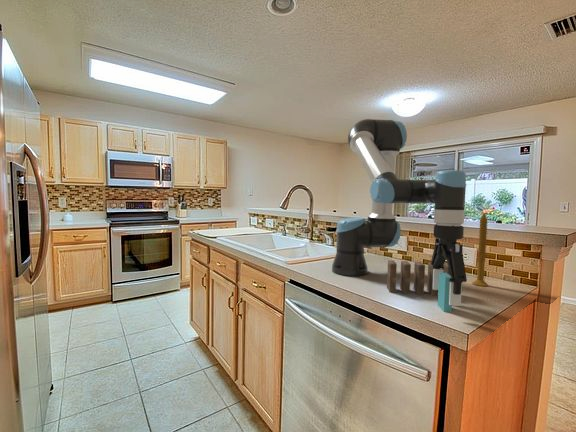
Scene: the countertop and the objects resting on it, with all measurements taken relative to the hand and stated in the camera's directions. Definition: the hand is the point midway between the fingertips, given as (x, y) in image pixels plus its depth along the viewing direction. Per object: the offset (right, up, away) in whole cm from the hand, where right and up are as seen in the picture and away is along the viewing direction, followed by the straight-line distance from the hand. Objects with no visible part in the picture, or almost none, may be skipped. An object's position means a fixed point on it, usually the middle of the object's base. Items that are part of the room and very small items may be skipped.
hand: (445, 296), depth 83 cm
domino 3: (-1, -3, +15) cm, 15 cm away
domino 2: (-5, -2, +16) cm, 17 cm away
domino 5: (+8, -3, +13) cm, 16 cm away
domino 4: (+3, -3, +14) cm, 15 cm away
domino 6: (0, -4, +1) cm, 4 cm away
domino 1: (-10, -2, +16) cm, 19 cm away
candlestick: (+27, -2, +24) cm, 36 cm away
